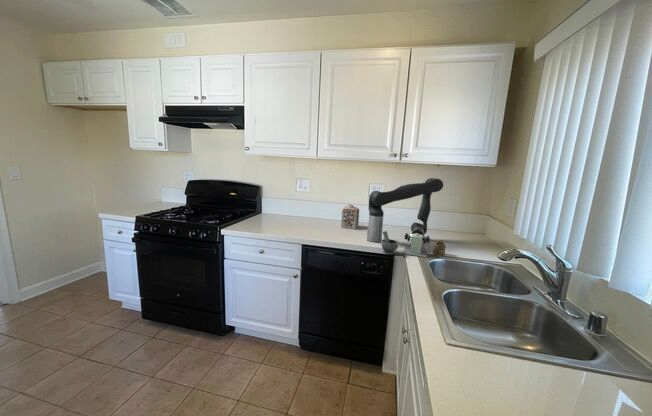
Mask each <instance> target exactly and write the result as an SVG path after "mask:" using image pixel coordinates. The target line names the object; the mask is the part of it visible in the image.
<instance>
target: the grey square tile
mask: <svg viewBox="0 0 652 416" xmlns="http://www.w3.org/2000/svg"><path fill="white" fill-rule="evenodd" d="M402 255H405V256H409V257H410V256H411V257H417V258H423V257H425V258H424V259H427V258H428V249H423V248H421V254H417V253H410V247H408V246H405V247H404V249H403V253H402ZM418 256H419V257H418Z"/></svg>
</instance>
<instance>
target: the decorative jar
mask: <svg viewBox="0 0 652 416" xmlns="http://www.w3.org/2000/svg"><path fill="white" fill-rule="evenodd" d="M359 220H360V209H359V207H357V206H355V205H354V204H351V203H350V204H347V206H343V208H342V211H341V221H340V222H341V223H340V227H341V228H342V229H348V228H349V229H350V230H356V229H357V228H358V227H359V222H360V221H359Z"/></svg>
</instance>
